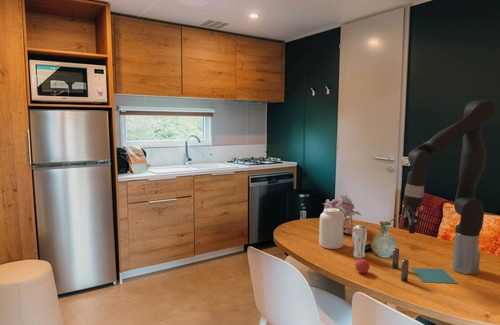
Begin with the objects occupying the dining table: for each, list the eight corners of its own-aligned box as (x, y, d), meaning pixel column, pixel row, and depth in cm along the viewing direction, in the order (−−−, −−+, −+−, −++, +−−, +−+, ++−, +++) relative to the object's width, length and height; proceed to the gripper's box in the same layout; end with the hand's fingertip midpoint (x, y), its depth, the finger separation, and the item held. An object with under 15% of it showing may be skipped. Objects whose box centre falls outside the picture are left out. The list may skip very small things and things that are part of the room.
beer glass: (356, 259, 172) (357, 229, 170) (348, 254, 178) (349, 225, 176) (368, 258, 173) (370, 228, 172) (360, 252, 180) (361, 224, 178)
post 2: (406, 279, 150) (407, 259, 149) (408, 282, 148) (409, 261, 147) (400, 279, 150) (401, 258, 149) (402, 282, 148) (403, 261, 147)
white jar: (340, 241, 197) (341, 206, 194) (344, 249, 184) (345, 212, 182) (318, 241, 198) (318, 206, 195) (320, 249, 185) (321, 211, 183)
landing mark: (443, 269, 160) (443, 268, 160) (457, 283, 146) (457, 283, 146) (410, 268, 162) (410, 267, 162) (422, 282, 148) (422, 281, 148)
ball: (367, 269, 160) (368, 257, 159) (370, 275, 154) (371, 262, 153) (354, 269, 161) (354, 256, 160) (356, 274, 155) (356, 261, 154)
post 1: (397, 266, 163) (398, 247, 162) (399, 269, 161) (400, 250, 159) (391, 266, 163) (392, 247, 162) (393, 268, 161) (394, 249, 160)
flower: (372, 227, 216) (356, 189, 221) (362, 234, 197) (345, 192, 202) (342, 236, 226) (327, 199, 231) (330, 243, 207) (315, 203, 212)
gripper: (428, 199, 148) (422, 236, 150) (416, 192, 162) (411, 226, 164) (410, 197, 149) (404, 234, 151) (399, 190, 163) (395, 224, 165)
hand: (408, 230), depth 158 cm, fingers open, 8 cm apart
